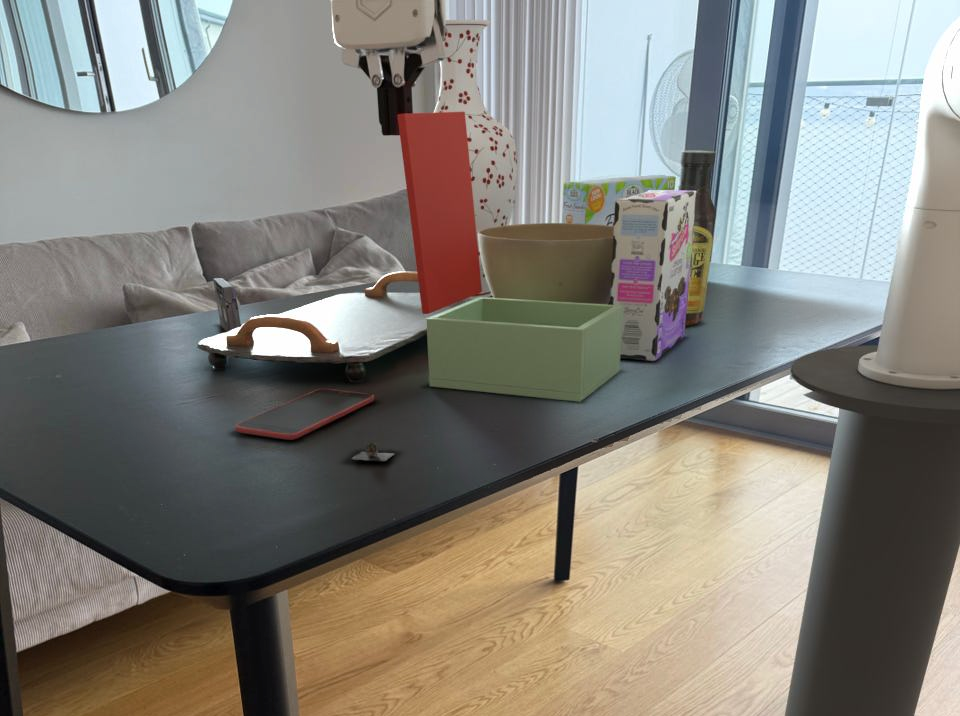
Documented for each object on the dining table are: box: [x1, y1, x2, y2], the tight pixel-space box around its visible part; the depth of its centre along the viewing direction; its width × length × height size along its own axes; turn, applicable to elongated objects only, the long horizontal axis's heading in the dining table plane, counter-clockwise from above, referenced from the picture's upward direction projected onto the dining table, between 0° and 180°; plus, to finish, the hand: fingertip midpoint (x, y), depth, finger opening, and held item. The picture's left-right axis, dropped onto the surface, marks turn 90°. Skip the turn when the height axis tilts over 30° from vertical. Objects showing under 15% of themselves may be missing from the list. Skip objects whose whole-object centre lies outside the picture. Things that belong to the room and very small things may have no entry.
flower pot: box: [478, 222, 614, 305], centre depth 111 cm, size 18×18×12 cm
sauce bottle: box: [677, 150, 717, 327], centre depth 114 cm, size 6×6×20 cm
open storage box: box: [426, 297, 623, 403], centre depth 94 cm, size 17×13×7 cm
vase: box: [432, 19, 518, 299], centre depth 131 cm, size 16×16×35 cm
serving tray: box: [196, 270, 473, 383], centre depth 111 cm, size 39×23×6 cm, turn 157°
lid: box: [397, 112, 482, 314], centre depth 91 cm, size 17×13×1 cm
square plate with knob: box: [351, 442, 395, 462], centre depth 75 cm, size 3×3×1 cm
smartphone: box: [234, 388, 375, 441], centre depth 86 cm, size 7×1×14 cm
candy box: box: [610, 189, 696, 362], centre depth 103 cm, size 14×6×16 cm, turn 155°
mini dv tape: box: [212, 277, 242, 332], centre depth 120 cm, size 8×2×6 cm, turn 23°
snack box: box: [561, 174, 677, 226], centre depth 144 cm, size 21×6×15 cm, turn 132°
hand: (396, 134), depth 90 cm, fingers closed
